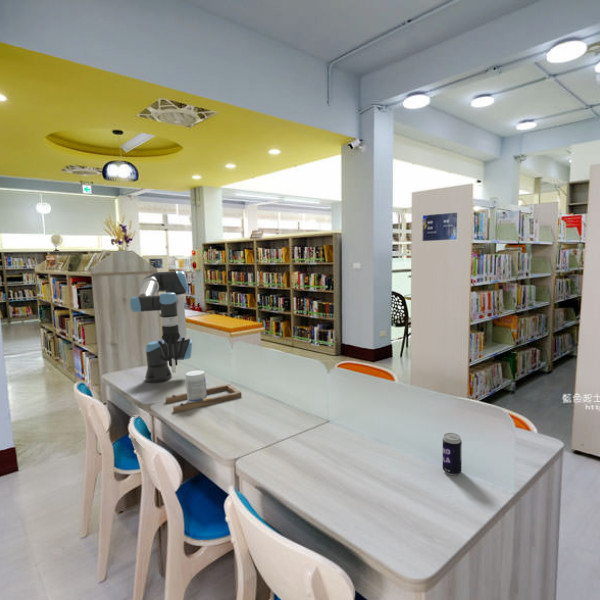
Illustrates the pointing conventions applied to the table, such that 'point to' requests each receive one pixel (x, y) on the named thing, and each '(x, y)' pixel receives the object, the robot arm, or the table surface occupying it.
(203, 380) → the supplement tub
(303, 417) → the table surface
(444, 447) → the beverage can
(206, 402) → the beam track
